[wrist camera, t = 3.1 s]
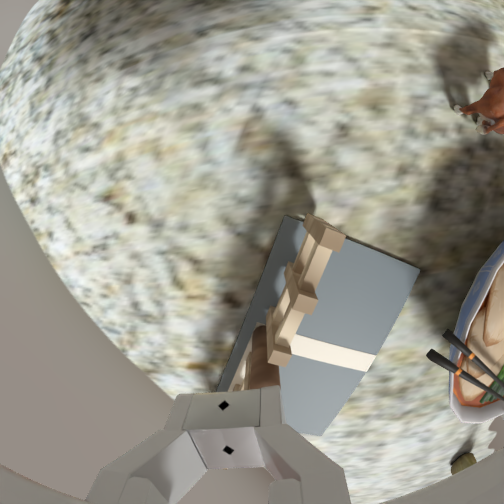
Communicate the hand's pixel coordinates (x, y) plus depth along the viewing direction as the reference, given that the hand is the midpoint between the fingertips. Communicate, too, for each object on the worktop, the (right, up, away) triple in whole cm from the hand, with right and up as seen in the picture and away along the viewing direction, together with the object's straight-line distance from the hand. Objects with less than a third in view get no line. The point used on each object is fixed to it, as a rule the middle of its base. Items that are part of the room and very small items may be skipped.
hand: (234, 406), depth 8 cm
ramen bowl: (+28, -1, +16) cm, 32 cm away
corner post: (+2, -2, +17) cm, 17 cm away
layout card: (+6, -4, +17) cm, 19 cm away
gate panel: (+4, +3, +15) cm, 16 cm away
